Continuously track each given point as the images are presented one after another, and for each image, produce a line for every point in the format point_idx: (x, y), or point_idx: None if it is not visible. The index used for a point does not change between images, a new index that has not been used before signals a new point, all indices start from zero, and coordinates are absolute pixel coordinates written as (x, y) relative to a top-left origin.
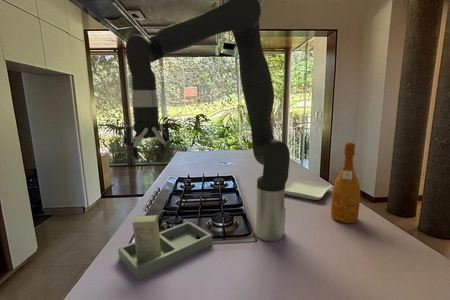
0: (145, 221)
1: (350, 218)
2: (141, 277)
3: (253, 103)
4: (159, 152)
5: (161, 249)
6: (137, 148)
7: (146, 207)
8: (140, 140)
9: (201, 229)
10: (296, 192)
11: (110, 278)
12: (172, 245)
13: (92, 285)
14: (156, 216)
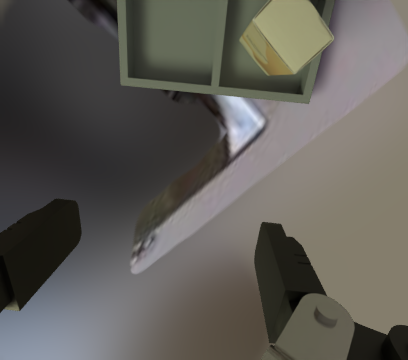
0: (309, 5)
1: None
2: None
3: None
4: (68, 231)
5: (229, 52)
6: (284, 280)
7: (144, 248)
8: (276, 356)
9: (120, 16)
10: None
11: (351, 49)
12: (223, 6)
13: (382, 55)
14: (261, 11)
